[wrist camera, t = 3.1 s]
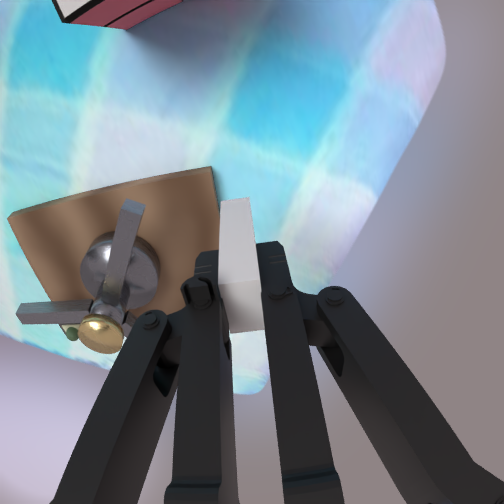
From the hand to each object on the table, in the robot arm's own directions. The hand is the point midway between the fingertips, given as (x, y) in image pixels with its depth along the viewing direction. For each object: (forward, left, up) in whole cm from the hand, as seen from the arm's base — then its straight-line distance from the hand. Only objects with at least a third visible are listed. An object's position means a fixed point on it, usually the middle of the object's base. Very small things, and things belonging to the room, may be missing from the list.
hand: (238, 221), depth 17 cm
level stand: (-12, -8, -9) cm, 17 cm away
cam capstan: (-11, -6, -7) cm, 14 cm away
